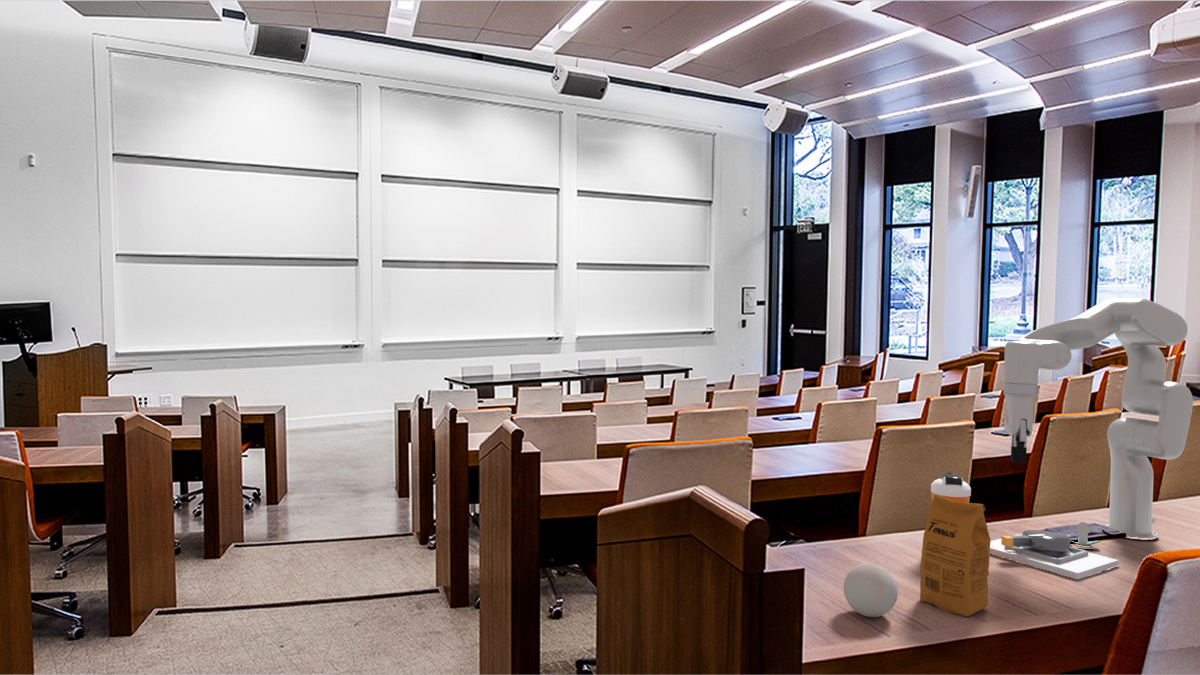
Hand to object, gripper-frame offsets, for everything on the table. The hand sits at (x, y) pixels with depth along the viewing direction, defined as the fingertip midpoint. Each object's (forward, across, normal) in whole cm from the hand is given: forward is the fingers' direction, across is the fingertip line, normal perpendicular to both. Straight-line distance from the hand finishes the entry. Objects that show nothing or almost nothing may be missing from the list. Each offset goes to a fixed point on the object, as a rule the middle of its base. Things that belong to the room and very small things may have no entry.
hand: (1018, 462), depth 192 cm
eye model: (+22, +58, -35) cm, 71 cm away
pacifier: (+22, -8, +16) cm, 29 cm away
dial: (+21, +7, +3) cm, 22 cm away
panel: (+22, +6, +6) cm, 24 cm away
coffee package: (+22, +46, -19) cm, 55 cm away
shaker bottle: (+22, +12, -17) cm, 30 cm away
